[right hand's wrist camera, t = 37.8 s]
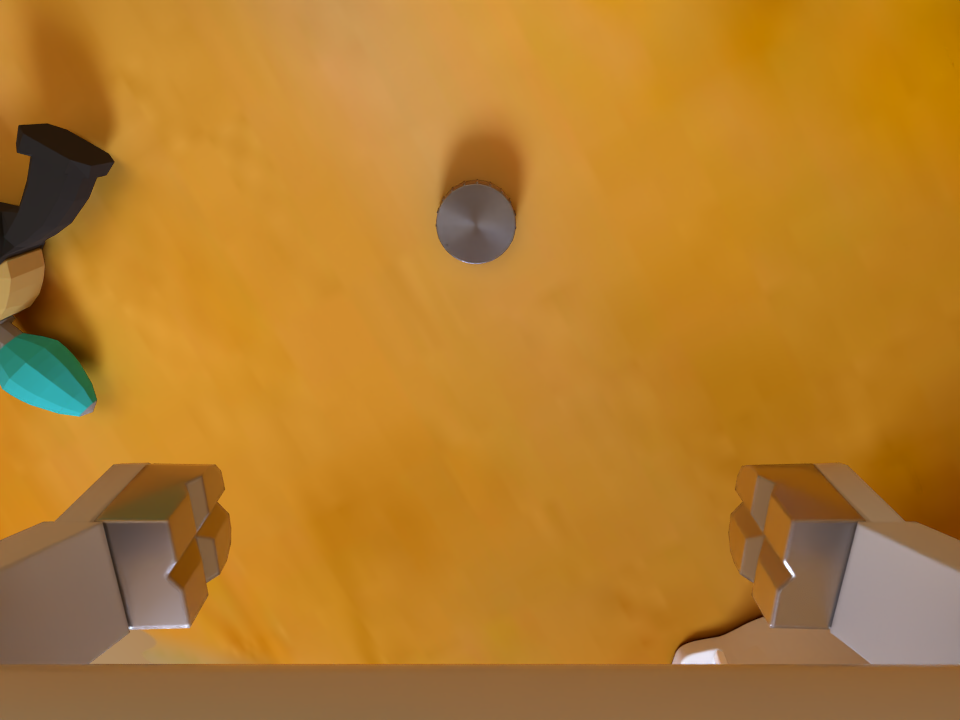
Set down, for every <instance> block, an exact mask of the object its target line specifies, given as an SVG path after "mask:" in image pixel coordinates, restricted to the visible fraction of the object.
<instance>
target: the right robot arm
mask: <svg viewBox="0 0 960 720" xmlns="http://www.w3.org/2000/svg"><path fill="white" fill-rule="evenodd" d="M224 490H225V487H224V482H223V477H222V472H221V470H220V469H219V468H218V467H217V466H216V465H211V464H159V463H154V464H150V463H121V464H115V465H113V466H111V467H110V468H109V469H108V470H107V471H106V472H105V473H104V474H103V475H102V476H101V477H100V478H99V479H98V480H97V481H96V482H95V483H94V484H93V485H92V486H91V487H90V488H89V489H88V490H87V491H86V492H85V493H84V494H83V495H81V496H80V497H79V498H78V499H77V500H76V501H75V502H74V503H73V504H72V505H71V506H70V507H69V508H68V509H67V510H66V511H65V512H64V513H63V514H62V515H61V516H60V517H59V518H58V519H57V520H56V521H55V522H42V523H40V524H37V525H35V526H33V527H30V528H28V529H25V530H23V531H21V532H18V533H16V534H14V535H11V536H9V537H7V538H4V539H2V540H0V720H960V540H958V539H955V538H953V537H951V536H948V535H946V534H944V533H941V532H939V531H937V530H934V529H932V528H930V527H927V526H925V525H923V524H920V523H918V522H905V521H904V520H903V519H902V518H901V517H900V516H899V515H898V514H897V513H896V512H895V511H894V510H893V509H892V508H891V507H890V506H889V505H888V504H887V503H886V502H885V501H884V500H883V499H882V498H881V497H880V496H879V495H878V494H877V493H876V492H875V491H873V490H872V489H871V488H870V487H869V486H868V485H867V484H866V483H865V482H864V481H863V480H862V479H861V478H860V477H859V476H858V475H857V474H856V473H855V472H854V471H853V470H852V469H851V468H850V467H849V466H848V465H845V464H842V463H818V464H774V465H746V466H742V467H741V469H740V471H739V473H738V476H737V481H736V487H735V490H736V492H737V493H738V495H739V496H740V498H741V499H742V501H743V502H742V503H741V504H740V505H739V506H738V507H737V508H736V509H735V510H734V511H733V512H732V513H731V517H730V525H729V543H730V551H731V554H732V558H733V561H734V564H735V565H736V567H737V569H738V571H739V573H740V574H741V575H742V576H744V577H745V578H747V579H748V580H750V581H751V582H753V583H754V585H753V590H752V597H753V598H754V600H755V602H756V604H757V605H758V607H759V609H760V611H761V612H762V614H763V616H764V617H761V618H759V619H756V620H753V621H751V622H749V623H747V624H745V625H743V626H741V627H739V628H737V629H735V630H733V631H731V632H729V633H727V634H725V635H722V636H719V637H714V638H708V639H702V640H698V641H693V642H690V643H687V644H685V645H683V646H681V647H680V648H679V649H678V650H677V652H676V654H675V656H674V659H673V662H672V664H90V663H91V662H92V661H94V660H95V659H96V658H97V657H99V656H100V655H101V654H102V653H104V652H105V651H106V650H108V649H109V648H110V647H112V646H113V645H114V644H116V643H117V642H118V641H120V640H121V639H122V638H123V637H125V636H126V635H127V634H128V633H130V630H131V629H168V628H190V627H191V625H192V623H193V621H194V620H195V618H196V616H197V614H198V613H199V611H200V609H201V607H202V605H203V604H204V602H205V600H206V598H207V597H208V590H207V585H206V583H207V582H209V581H210V580H212V579H213V578H215V577H216V576H218V575H219V574H220V573H221V571H222V569H223V567H224V565H225V563H226V561H227V558H228V554H229V549H230V545H231V523H230V517H229V513H228V512H227V511H226V510H225V509H224V508H223V507H222V506H221V505H220V504H219V503H218V502H217V501H218V500H219V498H220V496H221V495H222V493H223V492H224Z"/></svg>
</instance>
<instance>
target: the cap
mask: <svg viewBox="0 0 960 720" xmlns="http://www.w3.org/2000/svg"><path fill="white" fill-rule="evenodd" d="M437 213H438V214H437V220H436V227H437V233H438V237H439V239H440V242H441V243H442V245H443V247H444V248H445V249H446V251H447V252H448V253H449V254H451V255H452V256H453V257H455V258H456V259H458V260H460V261H463V262H466V263H471V264H481V263H486V262H489V261H492V260H494V259H496V258H497V257H499V256H500V255H502V254H503V253H504V252H505V251H506V249H507V248H508V247H509V245H510V244H511V242H512V240H513V237H514V234H515V229H516V220H515V216H516V214H515V211H514V210H513V208H512V205H511V200H510V198H509V199H508V197H507V196H506V194H505V193H504V192H503V191H502V189H500V188H498V187H497V186H495V185H493V184H491V182H486V181H481V180H478V179H477V180H472V181H467V182H465V181H464V182H463V183H461V184H459V185H457V186H455V187H452V189H451V190H450V191H449V192H448V194H447V195H446V196H444V197H443V199H442V203H441V206H440V208H438V211H437Z"/></svg>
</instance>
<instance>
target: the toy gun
mask: <svg viewBox="0 0 960 720" xmlns="http://www.w3.org/2000/svg"><path fill="white" fill-rule="evenodd" d="M16 148H17V153H21V154H24V155H28V156H31V157H30V164H29V170H28V177H27V182H26V186H25V189H24V192H23V196H22V199H21V203H20V206H15V205H11V204H6V203H2V202H0V385H1V387H2V389H3V390H5V391H6V392H8V393H9V394H10V395H12V396H14V397H16V398H17V399H19V400H21V401H23V402H26V403H28V404H30V405H33V406H36V407H39V408H42V409H46V410H49V411H52V412H55V413H58V414H66V415H73V416H82V415H85V414H88V413H91V412H93V410H94V408H95V405H96V402H97V398H96V395H95V392H94V389H93V386H92V383H91V381H90V379H89V378H88V376H87V374H86V373H85V371H84V369H83V367H82V366H81V364H80V362H79V361H78V360H77V359H76V357H75V356H74V355H73V354H72V353H71V352H70V351H69V350H68V349H67V348H66V347H65V346H64V345H63V344H62V343H60V342H59V341H58V340H55V339H51V338H47V337H44V336H38V335H32V334H26V333H23V332H21V331H20V330H19V329H18V328H16V327H15V326H14V325H13V324H12V322H13V321H14V319H15V317H13V316H12V315H13V314H15V313H17V312H20V311H22V310H24V309H26V308H28V307H30V306H31V305H32V303H33V302H34V301H35V299H36V298H37V296H38V295H39V294H40V290H41V286H42V283H43V278H44V270H45V263H44V258H43V254H42V249H43V246H44V243H45V240H46V239H48V238H50V237H52V236H54V235H56V234H57V233H59V232H60V231H61V230H63V229H64V228H65V227H66V226H68V225H69V224H70V223H72V222H73V220H74V219H75V217H76V216H77V214H78V213H79V211H80V210H81V209H82V207H83V206H84V204H85V203H86V201H87V200H88V198H89V197H90V194H91V191H92V189H93V186H94V184H95V181H96V178H97V177H100V176H105V175H107V173H108V172H109V170H110V168H111V167H112V165H113V163H114V161H113V159H112V158H111V156H110V155H109V154H108V153H107V152H105V151H103V150H101V149H100V148H98V147H96V146H94V145H93V144H91V143H89V142H87V141H86V140H84V139H82V138H80V137H79V136H77V135H75V134H73V133H72V132H70V131H68V130H66V129H63V128H59V127H56V126H53V125H50V124H30V125H19V126H18V134H17V141H16Z"/></svg>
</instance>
